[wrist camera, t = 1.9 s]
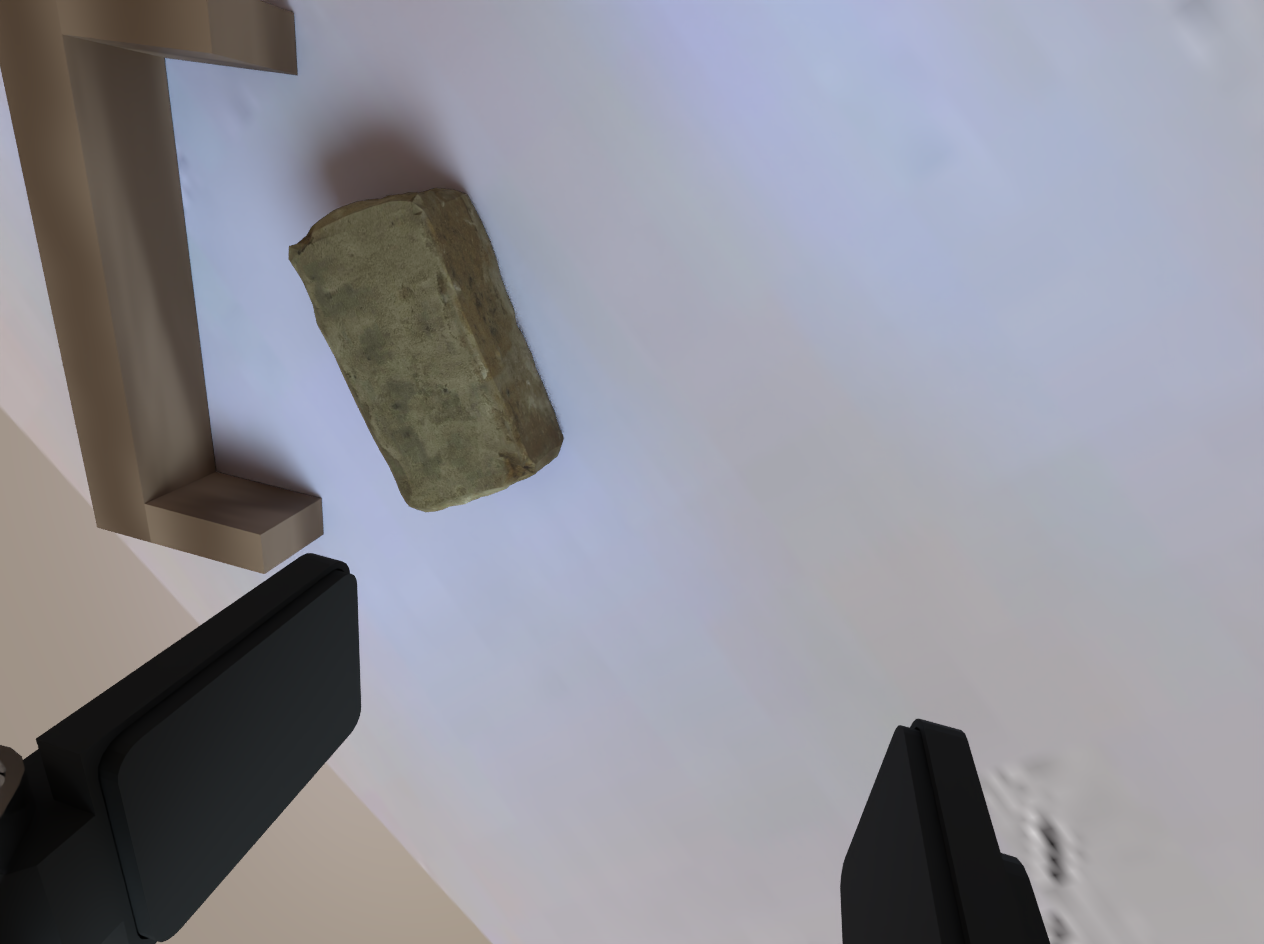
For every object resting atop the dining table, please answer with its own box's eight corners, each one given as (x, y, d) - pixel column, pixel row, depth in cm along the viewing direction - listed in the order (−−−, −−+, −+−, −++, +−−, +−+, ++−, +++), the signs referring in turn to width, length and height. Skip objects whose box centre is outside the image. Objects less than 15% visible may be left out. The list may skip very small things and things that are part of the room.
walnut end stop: (294, 13, 25) (204, -21, 21) (323, 534, 33) (264, 574, 30) (91, -10, 26) (-24, -45, 22) (171, 494, 35) (97, 527, 31)
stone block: (466, 480, 30) (406, 527, 26) (352, 227, 27) (261, 231, 23) (579, 447, 28) (534, 491, 24) (468, 171, 25) (394, 162, 21)
